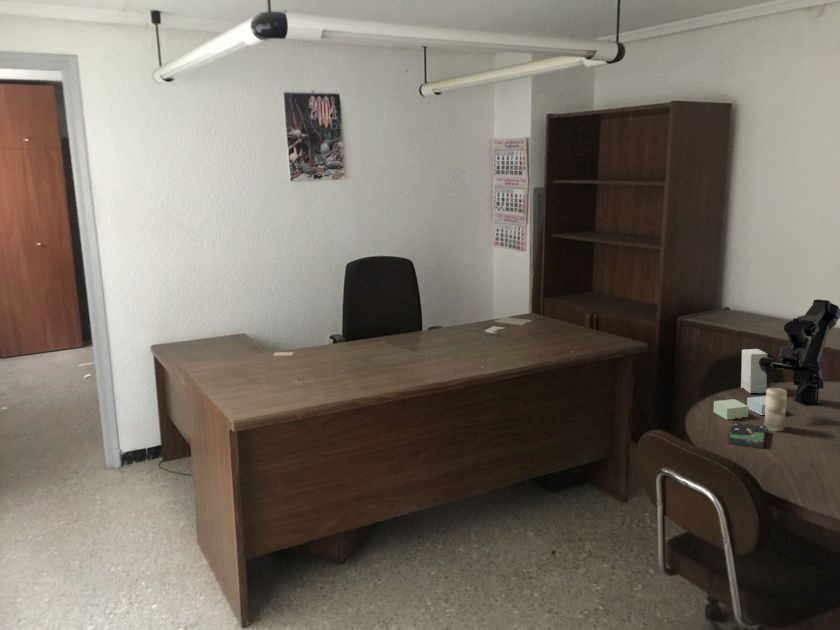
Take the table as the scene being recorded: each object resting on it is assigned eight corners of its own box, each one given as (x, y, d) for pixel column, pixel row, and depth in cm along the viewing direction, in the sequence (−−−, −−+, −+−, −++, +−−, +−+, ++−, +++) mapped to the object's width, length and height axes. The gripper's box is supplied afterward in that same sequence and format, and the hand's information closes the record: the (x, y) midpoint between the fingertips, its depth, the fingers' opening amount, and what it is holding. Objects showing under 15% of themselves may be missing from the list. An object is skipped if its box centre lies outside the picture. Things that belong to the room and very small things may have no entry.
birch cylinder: (776, 424, 237) (778, 387, 234) (788, 430, 231) (791, 392, 228) (760, 425, 236) (762, 388, 233) (771, 432, 230) (774, 394, 227)
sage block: (734, 409, 251) (734, 399, 251) (748, 417, 244) (748, 406, 243) (713, 412, 250) (713, 401, 249) (726, 419, 242) (727, 408, 242)
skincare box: (766, 393, 267) (768, 353, 263) (748, 394, 267) (751, 354, 264) (756, 386, 275) (758, 348, 272) (739, 387, 275) (741, 348, 272)
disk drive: (731, 429, 235) (727, 445, 223) (732, 421, 235) (727, 436, 222) (766, 433, 231) (763, 450, 218) (766, 425, 230) (764, 441, 217)
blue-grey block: (767, 406, 253) (767, 395, 253) (782, 413, 246) (782, 402, 245) (746, 408, 252) (747, 397, 251) (761, 416, 244) (761, 405, 244)
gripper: (762, 334, 241) (747, 372, 236) (822, 342, 228) (808, 382, 223) (769, 351, 248) (755, 389, 243) (828, 360, 235) (814, 400, 230)
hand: (782, 389), depth 235 cm, fingers open, 9 cm apart
